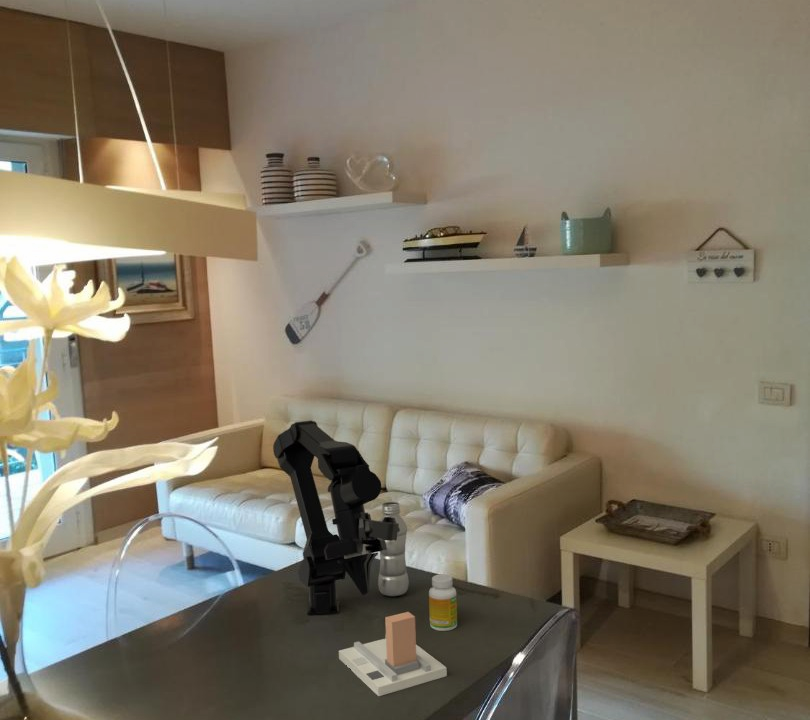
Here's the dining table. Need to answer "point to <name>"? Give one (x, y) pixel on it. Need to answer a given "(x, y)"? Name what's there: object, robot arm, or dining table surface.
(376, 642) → the switch board
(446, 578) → the supplement bottle
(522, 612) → the dining table surface
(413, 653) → the slide tab
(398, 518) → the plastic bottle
